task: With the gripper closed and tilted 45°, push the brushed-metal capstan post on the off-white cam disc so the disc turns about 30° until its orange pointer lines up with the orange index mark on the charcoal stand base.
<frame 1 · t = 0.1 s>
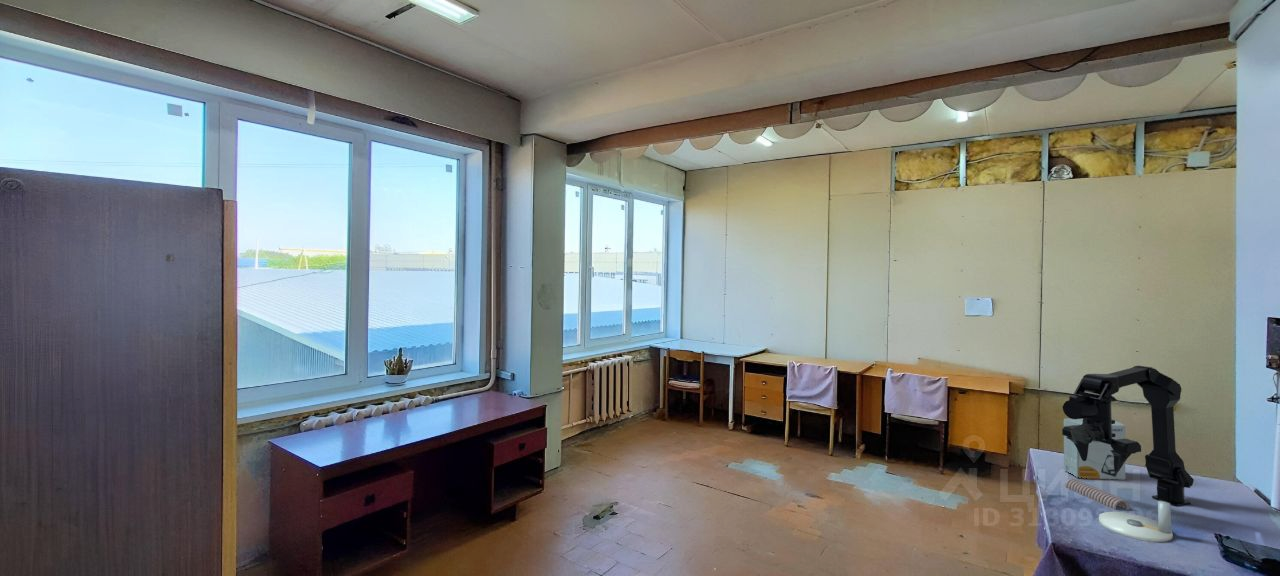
hand: (1100, 466, 156), 15 cm above the table, fingers open, 9 cm apart
hard drive box: (1094, 476, 183), on the table
cam disc: (1134, 512, 144), point 6 cm above the table, hinge at 30.0°
stand base: (1134, 532, 144), on the table
coil: (1095, 503, 163), on the table
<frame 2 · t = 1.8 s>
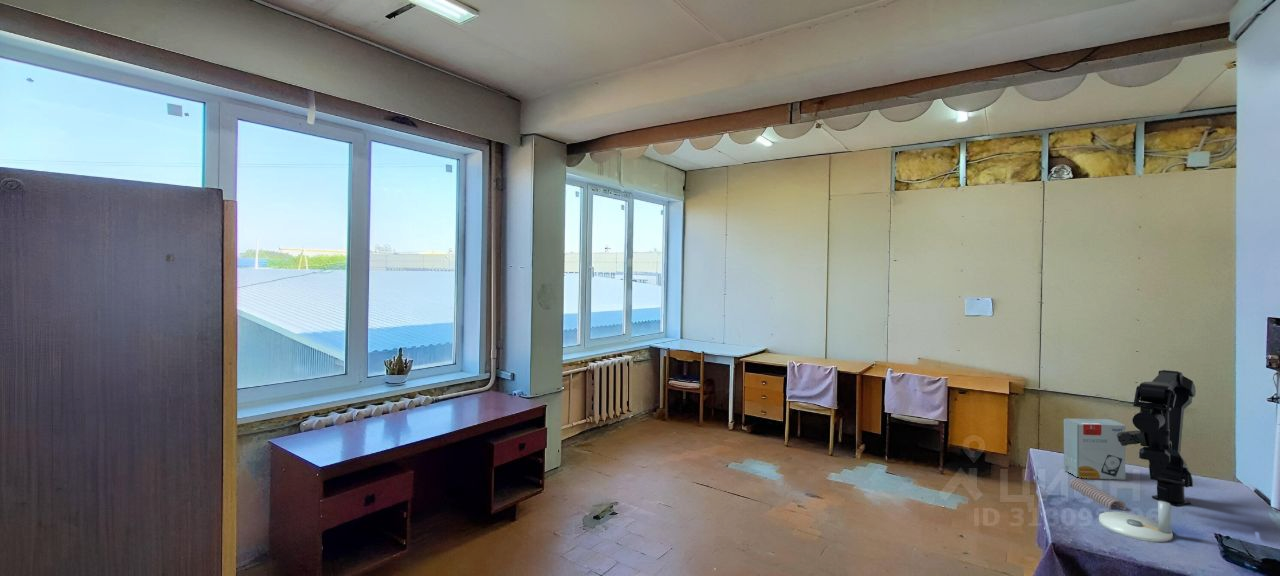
hand: (1156, 476, 152), 12 cm above the table, fingers closed
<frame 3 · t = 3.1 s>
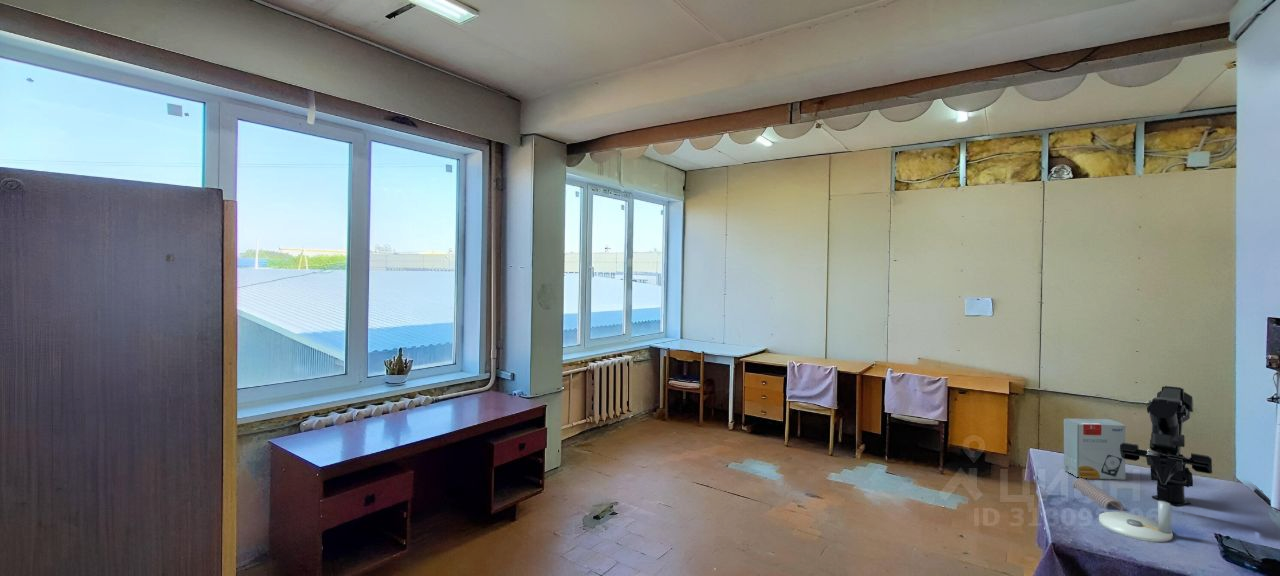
hand: (1163, 483, 146), 13 cm above the table, fingers closed
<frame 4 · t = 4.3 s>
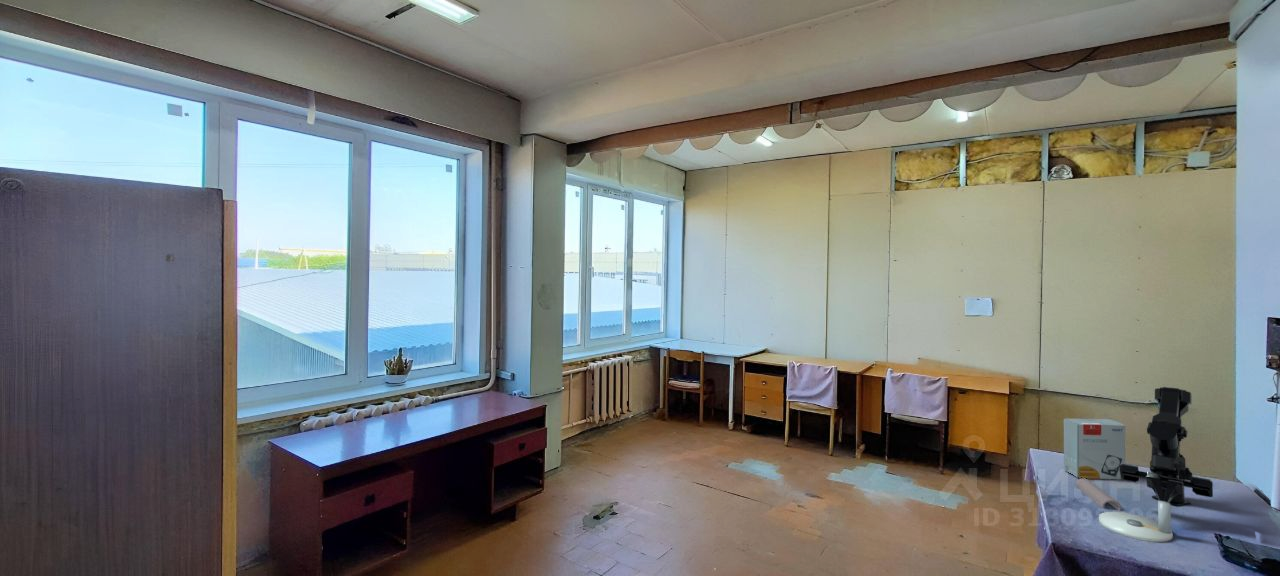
hand: (1163, 506, 144), 7 cm above the table, fingers closed
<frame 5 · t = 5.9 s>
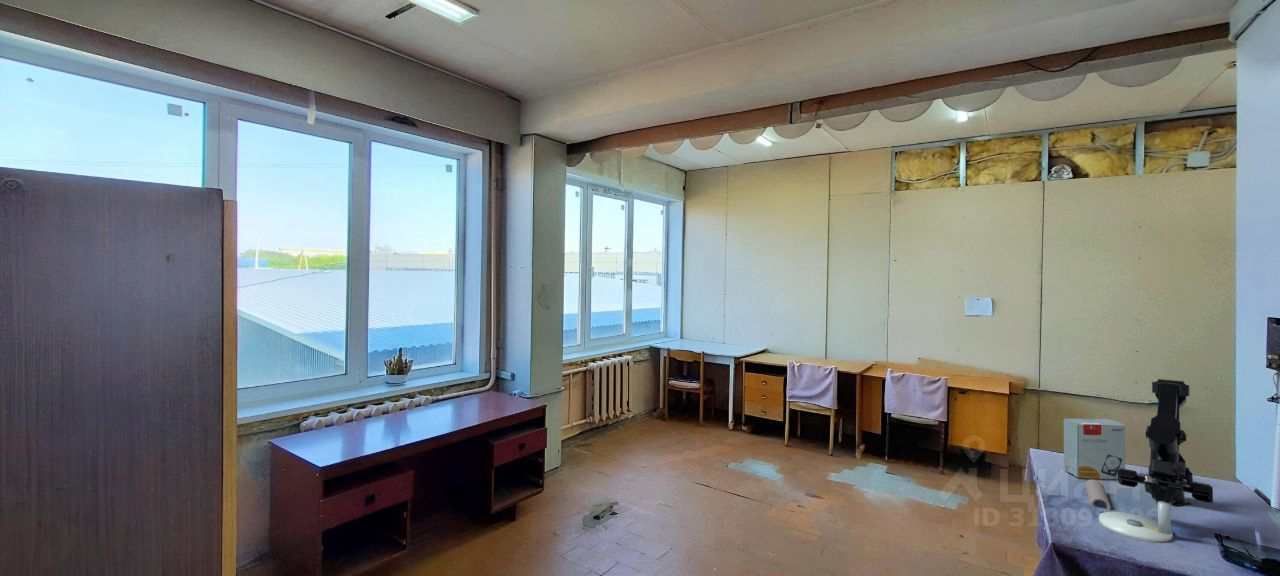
hand: (1162, 512, 140), 7 cm above the table, fingers closed, pressing on cam disc
cam disc: (1134, 512, 144), point 6 cm above the table, hinge at 25.6°, touching gripper
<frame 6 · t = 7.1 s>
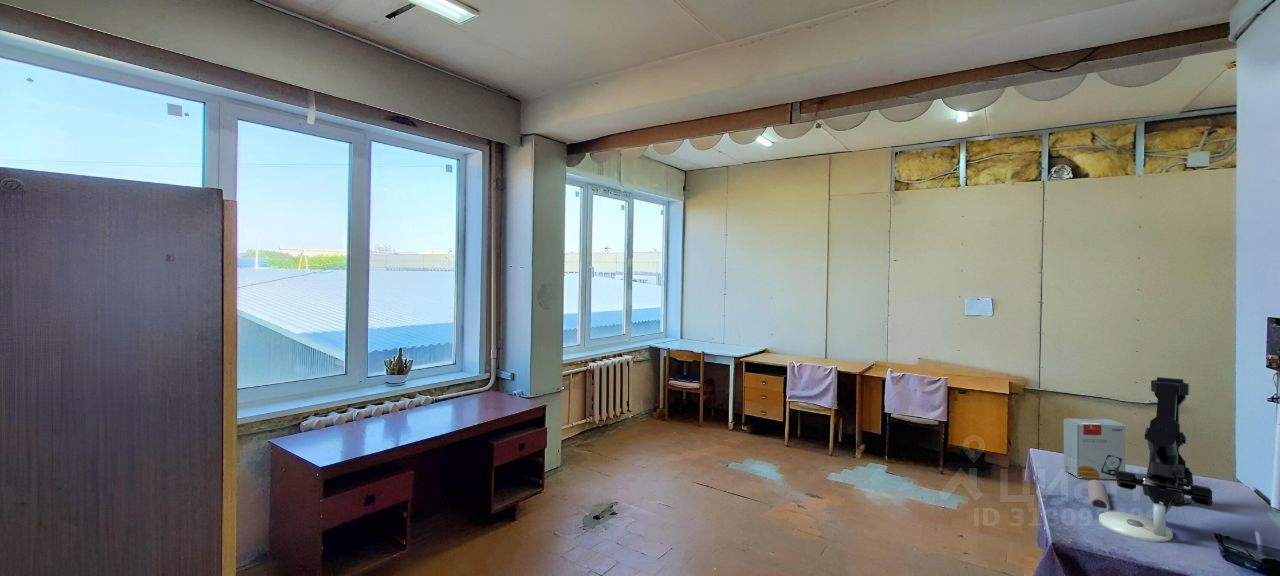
hand: (1161, 515, 139), 7 cm above the table, fingers closed, pressing on cam disc
cam disc: (1134, 512, 144), point 6 cm above the table, hinge at 0.0°, touching gripper
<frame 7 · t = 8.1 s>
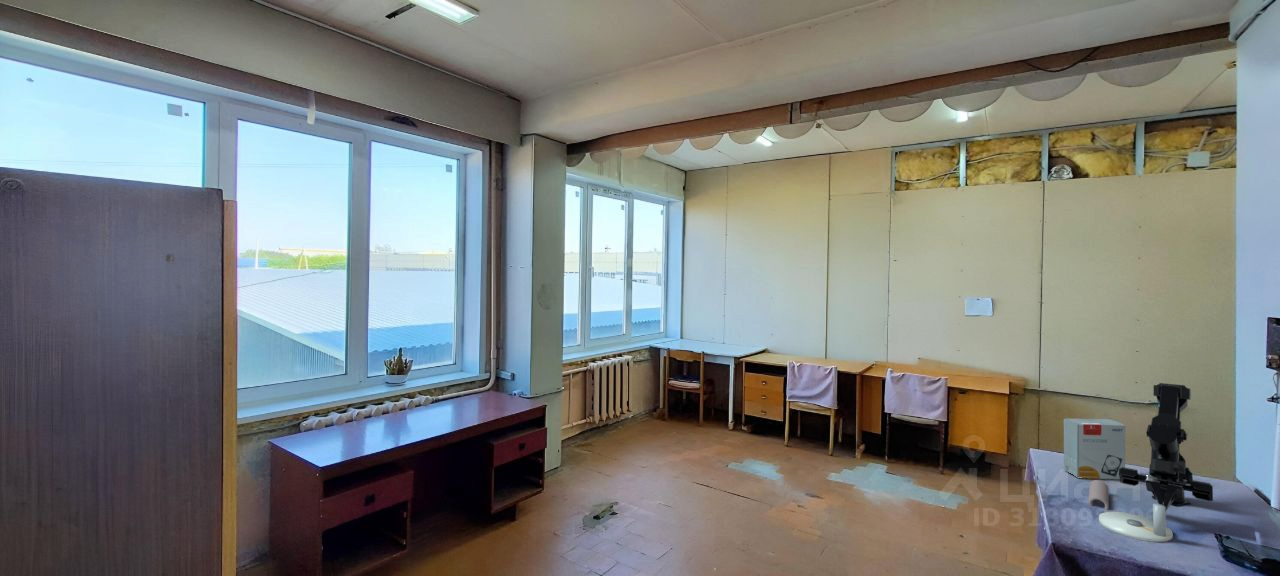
hand: (1163, 511, 142), 7 cm above the table, fingers closed
cam disc: (1134, 512, 144), point 6 cm above the table, hinge at -0.3°
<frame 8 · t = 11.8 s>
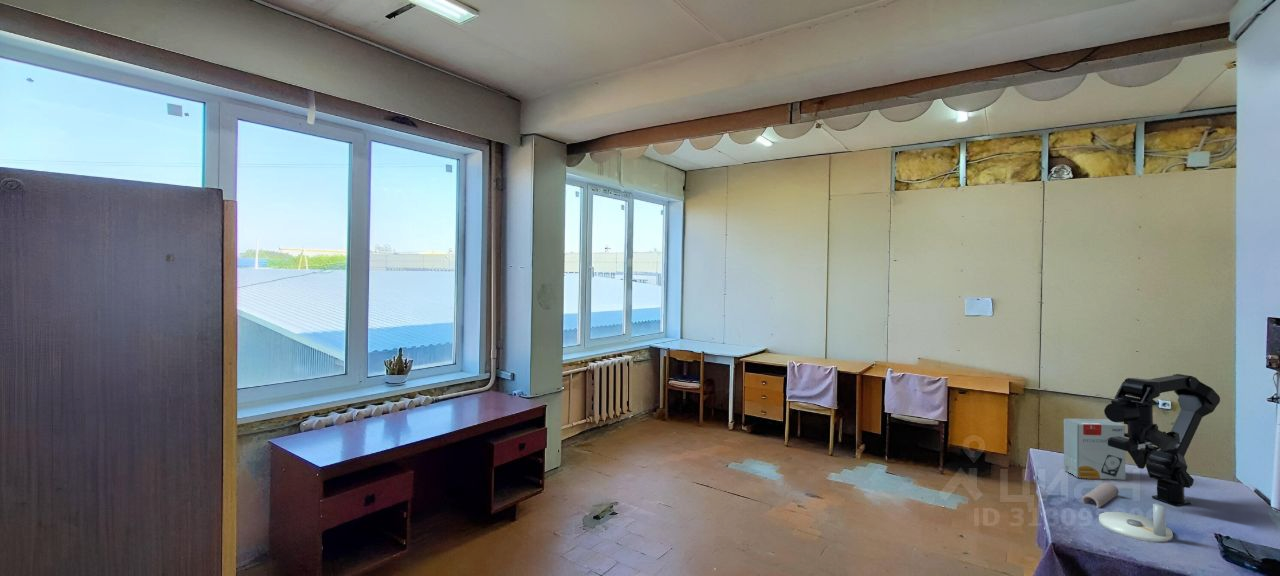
hand: (1141, 468, 159), 12 cm above the table, fingers closed
at the end: cam disc at +0° (first picture: +30°); coil moved 1.3 cm from its start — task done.
